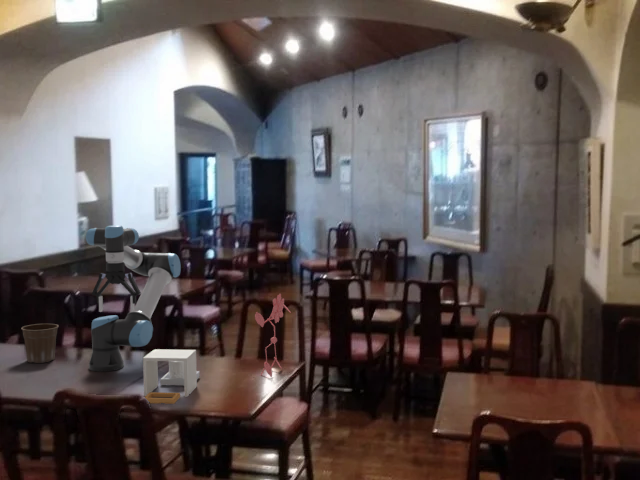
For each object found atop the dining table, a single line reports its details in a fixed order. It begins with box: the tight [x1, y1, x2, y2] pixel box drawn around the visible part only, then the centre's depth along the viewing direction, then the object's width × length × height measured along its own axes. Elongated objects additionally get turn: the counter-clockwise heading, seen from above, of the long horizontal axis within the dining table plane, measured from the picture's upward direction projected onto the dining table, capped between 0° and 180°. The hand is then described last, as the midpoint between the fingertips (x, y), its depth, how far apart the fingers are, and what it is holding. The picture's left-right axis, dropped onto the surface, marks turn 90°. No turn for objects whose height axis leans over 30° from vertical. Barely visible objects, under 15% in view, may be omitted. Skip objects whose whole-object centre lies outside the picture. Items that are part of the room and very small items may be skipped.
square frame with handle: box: [159, 370, 201, 386], centre depth 302 cm, size 24×13×9 cm, turn 175°
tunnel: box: [142, 348, 198, 398], centre depth 283 cm, size 14×17×15 cm
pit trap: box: [144, 391, 181, 405], centre depth 272 cm, size 8×12×2 cm, turn 85°
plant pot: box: [20, 323, 60, 364], centre depth 334 cm, size 16×16×16 cm
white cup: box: [168, 361, 184, 379], centre depth 295 cm, size 8×8×10 cm
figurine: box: [252, 293, 296, 379], centre depth 306 cm, size 15×26×35 cm, turn 158°
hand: (116, 311), depth 304 cm, fingers open, 13 cm apart
